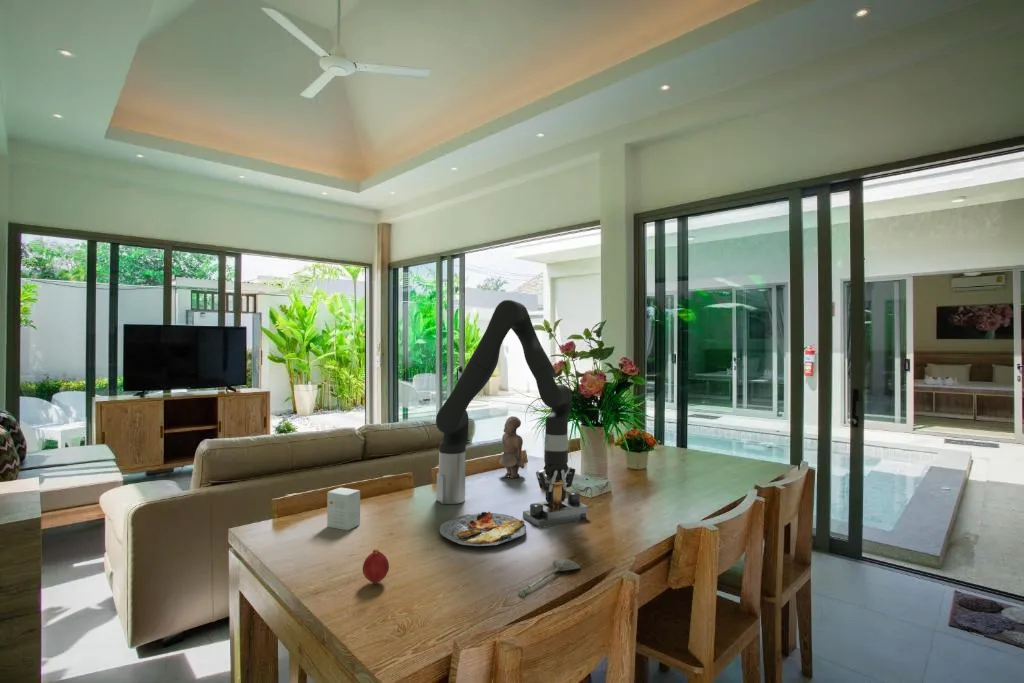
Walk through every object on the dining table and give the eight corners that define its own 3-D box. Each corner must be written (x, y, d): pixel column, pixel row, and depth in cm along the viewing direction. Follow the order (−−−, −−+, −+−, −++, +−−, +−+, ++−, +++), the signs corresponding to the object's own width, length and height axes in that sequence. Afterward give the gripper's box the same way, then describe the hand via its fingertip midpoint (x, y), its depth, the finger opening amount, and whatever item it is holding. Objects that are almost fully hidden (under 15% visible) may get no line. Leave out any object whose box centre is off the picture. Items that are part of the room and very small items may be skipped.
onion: (365, 577, 120) (365, 543, 120) (390, 577, 121) (390, 543, 121) (360, 589, 114) (360, 554, 114) (386, 589, 115) (386, 553, 115)
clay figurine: (493, 475, 214) (494, 415, 215) (512, 471, 220) (513, 413, 220) (511, 482, 204) (512, 419, 204) (531, 478, 210) (532, 417, 210)
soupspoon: (585, 571, 128) (563, 565, 132) (585, 557, 128) (563, 552, 132) (532, 602, 111) (508, 594, 115) (532, 586, 111) (508, 578, 115)
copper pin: (553, 512, 159) (553, 483, 159) (544, 507, 164) (544, 479, 164) (567, 510, 162) (567, 481, 162) (557, 505, 166) (558, 477, 166)
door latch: (539, 527, 154) (539, 504, 154) (522, 517, 163) (523, 495, 163) (587, 518, 163) (588, 496, 163) (569, 509, 172) (570, 488, 172)
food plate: (488, 513, 166) (488, 502, 166) (542, 534, 149) (542, 522, 149) (424, 535, 148) (424, 523, 148) (477, 561, 132) (477, 548, 132)
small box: (360, 525, 155) (360, 490, 155) (347, 531, 149) (347, 495, 150) (340, 521, 158) (340, 486, 158) (326, 526, 153) (326, 491, 153)
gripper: (568, 443, 170) (567, 495, 170) (530, 447, 163) (530, 501, 163) (581, 448, 163) (580, 502, 163) (543, 452, 156) (542, 508, 156)
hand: (555, 501), depth 163 cm, fingers closed on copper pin, 4 cm apart
